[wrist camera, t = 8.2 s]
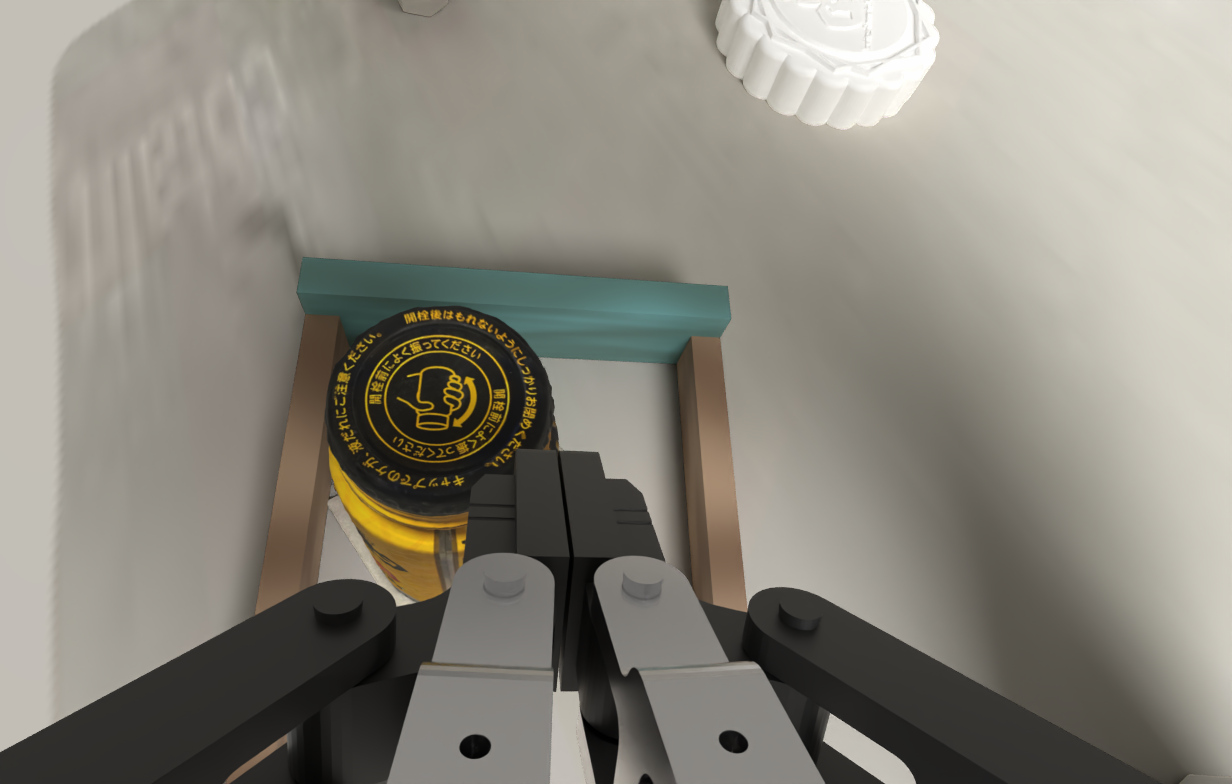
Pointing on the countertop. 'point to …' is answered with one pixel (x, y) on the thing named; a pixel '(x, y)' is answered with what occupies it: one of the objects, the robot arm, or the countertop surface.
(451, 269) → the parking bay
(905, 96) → the mooncake
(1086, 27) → the countertop surface
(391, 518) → the condiment
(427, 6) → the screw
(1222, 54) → the countertop surface
